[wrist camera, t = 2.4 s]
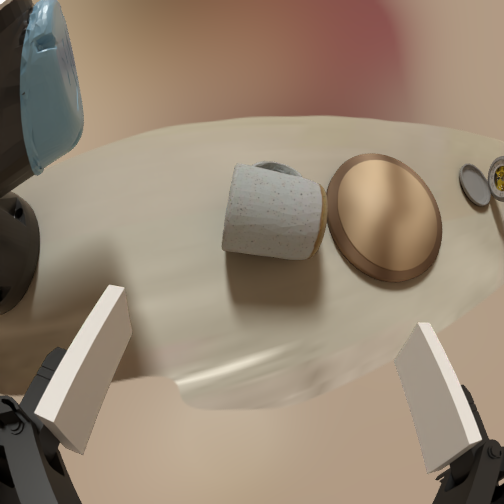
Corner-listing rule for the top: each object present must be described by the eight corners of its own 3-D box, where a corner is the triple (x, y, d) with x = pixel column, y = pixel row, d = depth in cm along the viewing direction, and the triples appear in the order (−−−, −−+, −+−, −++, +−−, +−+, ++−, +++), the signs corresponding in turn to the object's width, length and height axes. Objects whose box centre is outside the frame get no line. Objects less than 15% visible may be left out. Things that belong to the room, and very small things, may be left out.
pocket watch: (450, 175, 33) (494, 139, 23) (473, 157, 35) (510, 125, 25) (481, 224, 31) (529, 197, 22) (500, 201, 33) (541, 175, 23)
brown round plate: (321, 273, 28) (325, 271, 27) (325, 146, 32) (328, 140, 31) (439, 287, 29) (446, 286, 27) (430, 174, 33) (435, 169, 31)
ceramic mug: (306, 270, 28) (332, 247, 21) (221, 260, 28) (218, 232, 20) (310, 175, 31) (331, 133, 24) (235, 164, 31) (238, 117, 23)
